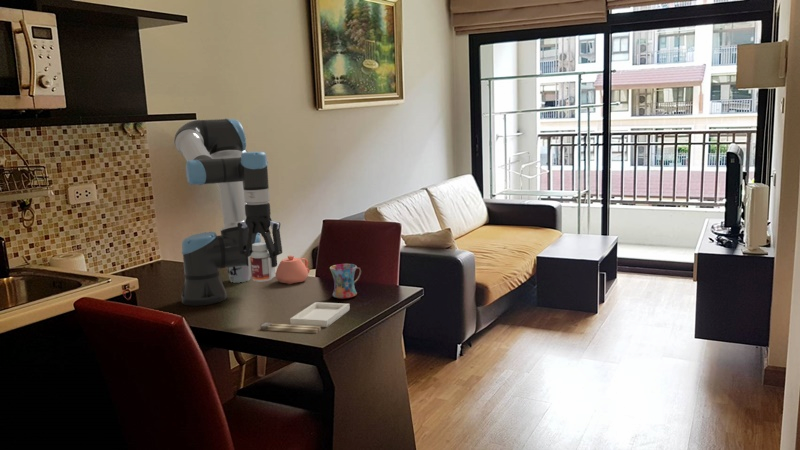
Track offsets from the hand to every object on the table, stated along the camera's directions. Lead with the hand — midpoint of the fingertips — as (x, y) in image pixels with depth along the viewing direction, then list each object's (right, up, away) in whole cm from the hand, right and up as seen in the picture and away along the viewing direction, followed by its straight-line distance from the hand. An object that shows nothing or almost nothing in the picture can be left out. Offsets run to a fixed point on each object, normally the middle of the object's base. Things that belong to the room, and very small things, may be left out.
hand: (262, 276), depth 201 cm
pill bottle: (0, -1, 0) cm, 1 cm away
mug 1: (-19, -6, +56) cm, 59 cm away
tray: (+18, -13, 0) cm, 22 cm away
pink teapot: (+2, -6, +49) cm, 49 cm away
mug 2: (+25, -9, +24) cm, 36 cm away
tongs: (+11, -15, -11) cm, 21 cm away
